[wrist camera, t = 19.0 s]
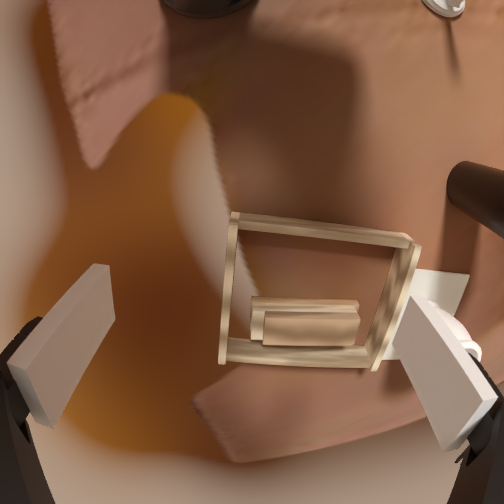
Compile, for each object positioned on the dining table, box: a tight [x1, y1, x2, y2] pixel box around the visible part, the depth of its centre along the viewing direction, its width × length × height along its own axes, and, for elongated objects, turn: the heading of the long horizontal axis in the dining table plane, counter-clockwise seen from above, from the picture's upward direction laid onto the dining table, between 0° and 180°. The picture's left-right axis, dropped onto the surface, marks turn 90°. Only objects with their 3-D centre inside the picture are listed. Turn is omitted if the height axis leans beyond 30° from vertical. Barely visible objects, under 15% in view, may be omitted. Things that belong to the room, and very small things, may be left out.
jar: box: [428, 301, 482, 362], centre depth 47 cm, size 11×10×15 cm
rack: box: [218, 212, 422, 371], centre depth 50 cm, size 24×28×6 cm
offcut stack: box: [250, 296, 361, 346], centre depth 52 cm, size 6×18×6 cm, turn 87°
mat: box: [382, 269, 470, 360], centre depth 55 cm, size 20×16×1 cm
